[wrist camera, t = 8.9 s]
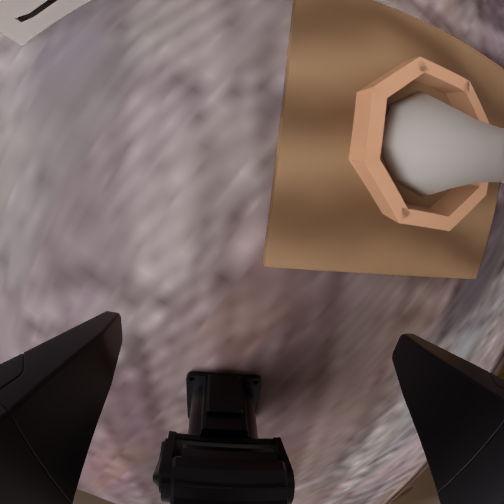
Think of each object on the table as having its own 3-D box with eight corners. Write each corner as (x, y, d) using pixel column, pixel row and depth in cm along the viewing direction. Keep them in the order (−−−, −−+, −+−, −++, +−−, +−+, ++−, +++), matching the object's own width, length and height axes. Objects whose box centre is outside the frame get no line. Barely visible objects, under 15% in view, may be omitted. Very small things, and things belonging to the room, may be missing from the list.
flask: (415, 74, 16) (521, 55, 7) (468, 147, 18) (568, 168, 9) (357, 141, 18) (460, 152, 9) (419, 213, 20) (516, 265, 11)
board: (468, 273, 24) (475, 278, 23) (262, 259, 22) (264, 266, 20) (498, 72, 17) (507, 71, 16) (294, -13, 15) (298, -20, 14)
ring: (458, 226, 21) (476, 236, 18) (340, 208, 19) (354, 217, 17) (477, 97, 17) (496, 96, 15) (359, 48, 16) (375, 39, 13)
